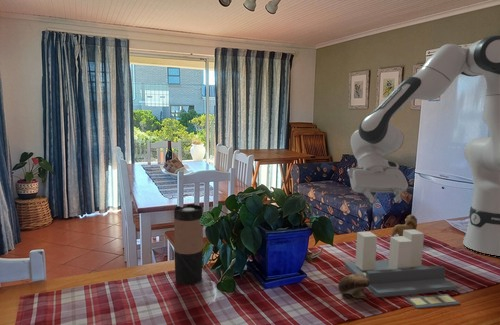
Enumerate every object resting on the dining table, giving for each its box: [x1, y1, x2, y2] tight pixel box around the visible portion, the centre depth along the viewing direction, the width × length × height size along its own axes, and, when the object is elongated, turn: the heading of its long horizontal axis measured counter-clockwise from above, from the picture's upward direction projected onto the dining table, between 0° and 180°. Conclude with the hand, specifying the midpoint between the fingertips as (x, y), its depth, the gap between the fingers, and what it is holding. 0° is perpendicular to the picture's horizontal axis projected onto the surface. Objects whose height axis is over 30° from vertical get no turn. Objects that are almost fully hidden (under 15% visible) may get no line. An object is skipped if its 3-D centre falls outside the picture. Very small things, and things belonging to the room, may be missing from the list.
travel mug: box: [173, 204, 204, 286], centre depth 93 cm, size 8×8×20 cm
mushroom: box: [337, 273, 370, 299], centre depth 87 cm, size 8×8×6 cm
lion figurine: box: [388, 214, 418, 243], centre depth 126 cm, size 15×5×9 cm, turn 130°
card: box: [404, 293, 461, 310], centre depth 85 cm, size 12×4×1 cm, turn 101°
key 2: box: [403, 229, 425, 267], centre depth 102 cm, size 4×4×10 cm
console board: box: [344, 259, 458, 298], centre depth 97 cm, size 23×18×4 cm
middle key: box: [388, 235, 412, 269], centre depth 96 cm, size 4×4×10 cm
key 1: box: [354, 231, 378, 271], centre depth 99 cm, size 4×4×10 cm
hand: (386, 201), depth 114 cm, fingers open, 8 cm apart
